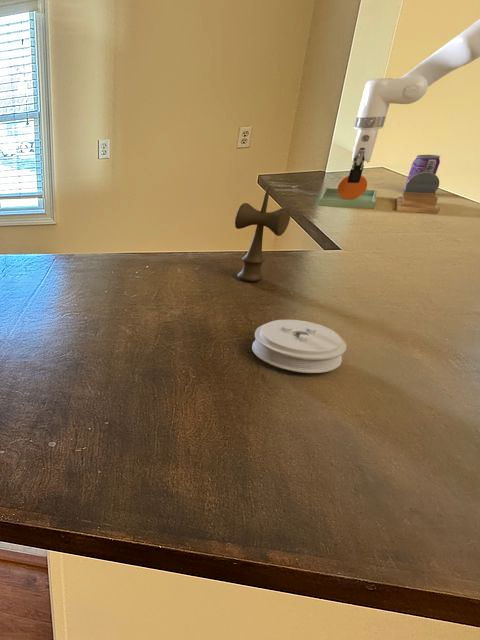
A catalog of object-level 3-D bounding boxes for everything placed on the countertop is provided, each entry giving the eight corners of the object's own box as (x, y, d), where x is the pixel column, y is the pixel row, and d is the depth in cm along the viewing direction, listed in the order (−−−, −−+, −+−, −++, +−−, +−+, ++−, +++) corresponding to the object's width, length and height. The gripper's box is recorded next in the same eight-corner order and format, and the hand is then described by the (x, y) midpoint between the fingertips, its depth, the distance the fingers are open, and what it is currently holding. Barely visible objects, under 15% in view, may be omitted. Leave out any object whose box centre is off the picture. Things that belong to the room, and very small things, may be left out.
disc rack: (396, 200, 159) (400, 188, 157) (434, 202, 154) (439, 190, 152) (396, 211, 148) (400, 198, 146) (438, 213, 143) (442, 200, 141)
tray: (323, 194, 174) (325, 188, 173) (374, 196, 166) (376, 190, 165) (317, 205, 160) (319, 198, 159) (373, 208, 152) (375, 201, 151)
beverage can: (431, 192, 165) (445, 155, 159) (423, 196, 162) (437, 158, 156) (407, 190, 170) (420, 154, 164) (398, 193, 167) (411, 156, 161)
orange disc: (333, 196, 165) (343, 172, 161) (360, 200, 161) (371, 176, 157) (333, 197, 164) (343, 172, 160) (360, 201, 160) (371, 176, 156)
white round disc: (245, 337, 85) (251, 311, 82) (327, 342, 81) (335, 316, 79) (257, 374, 75) (263, 346, 72) (351, 382, 71) (361, 352, 68)
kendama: (266, 288, 103) (287, 192, 93) (222, 278, 110) (238, 187, 100) (277, 280, 107) (299, 186, 97) (234, 271, 113) (250, 183, 103)
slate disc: (402, 198, 155) (410, 171, 151) (434, 198, 151) (443, 171, 147) (402, 198, 154) (410, 172, 151) (434, 199, 150) (443, 172, 146)
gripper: (383, 125, 143) (366, 185, 152) (384, 120, 155) (368, 175, 163) (353, 126, 147) (338, 184, 156) (356, 121, 159) (342, 175, 167)
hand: (354, 180), depth 159 cm, fingers open, 9 cm apart
